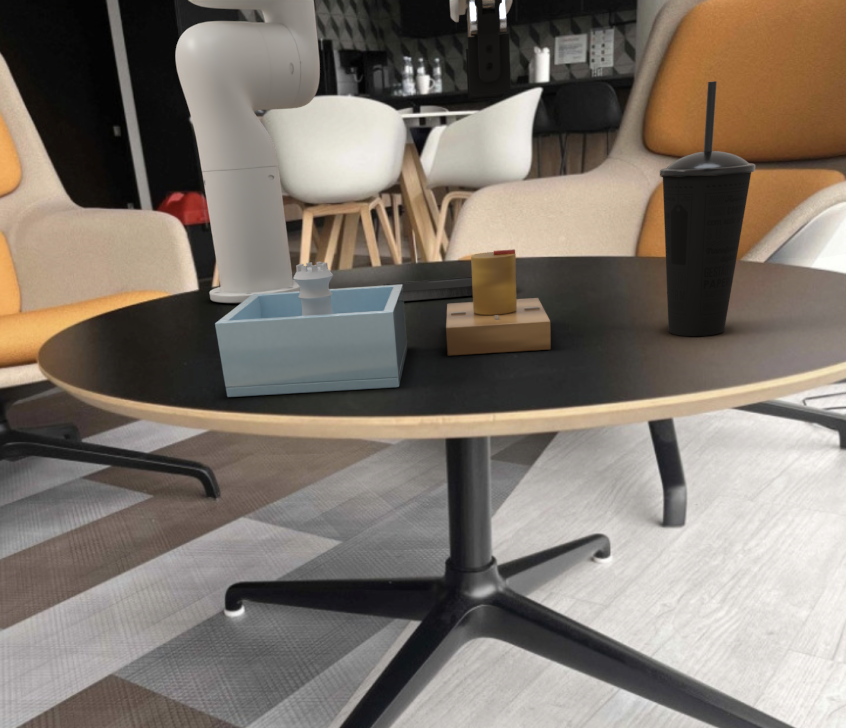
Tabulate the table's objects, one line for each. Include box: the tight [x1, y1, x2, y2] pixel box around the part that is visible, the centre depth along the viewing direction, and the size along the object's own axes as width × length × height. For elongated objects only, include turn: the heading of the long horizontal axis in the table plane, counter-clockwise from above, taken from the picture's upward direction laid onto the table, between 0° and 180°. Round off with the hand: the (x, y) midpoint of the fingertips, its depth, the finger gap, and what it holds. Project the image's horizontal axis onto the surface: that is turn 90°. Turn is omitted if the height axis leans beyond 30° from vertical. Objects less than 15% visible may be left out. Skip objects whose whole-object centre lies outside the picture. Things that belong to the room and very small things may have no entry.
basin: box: [214, 284, 408, 398], centre depth 73 cm, size 14×14×6 cm
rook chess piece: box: [292, 261, 334, 316], centre depth 72 cm, size 4×4×8 cm
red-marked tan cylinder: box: [470, 249, 518, 315], centre depth 79 cm, size 4×4×5 cm
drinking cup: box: [659, 80, 756, 337], centre depth 75 cm, size 8×8×20 cm
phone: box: [382, 276, 473, 302], centre depth 107 cm, size 8×1×15 cm
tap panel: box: [445, 297, 552, 357], centre depth 81 cm, size 12×9×3 cm
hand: (487, 96), depth 73 cm, fingers open, 9 cm apart
